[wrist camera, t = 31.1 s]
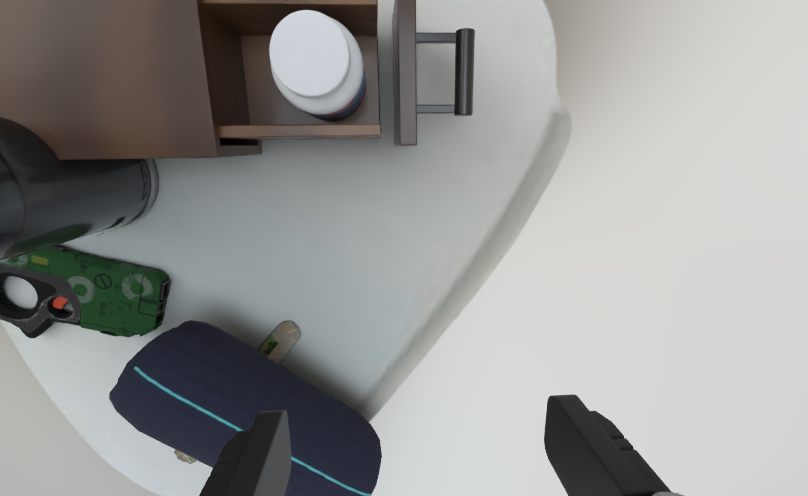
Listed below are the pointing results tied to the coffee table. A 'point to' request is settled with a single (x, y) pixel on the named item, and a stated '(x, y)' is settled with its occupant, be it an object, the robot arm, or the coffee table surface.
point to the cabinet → (112, 79)
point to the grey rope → (268, 356)
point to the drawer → (357, 10)
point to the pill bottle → (317, 65)
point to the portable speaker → (244, 409)
